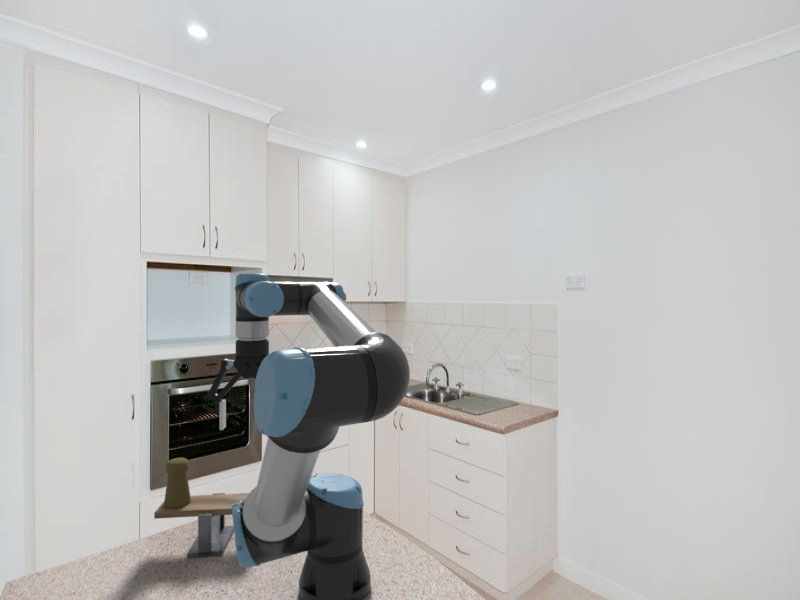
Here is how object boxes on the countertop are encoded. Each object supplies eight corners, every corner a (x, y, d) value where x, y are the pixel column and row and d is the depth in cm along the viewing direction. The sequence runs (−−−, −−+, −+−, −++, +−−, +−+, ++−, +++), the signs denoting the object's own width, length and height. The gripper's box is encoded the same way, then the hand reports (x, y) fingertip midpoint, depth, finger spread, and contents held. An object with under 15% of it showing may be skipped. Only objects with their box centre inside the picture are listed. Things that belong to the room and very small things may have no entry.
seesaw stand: (222, 556, 106) (222, 514, 106) (187, 558, 105) (187, 516, 105) (234, 530, 117) (234, 492, 117) (203, 531, 116) (202, 494, 116)
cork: (180, 510, 106) (180, 465, 106) (158, 508, 107) (157, 463, 107) (196, 498, 112) (196, 455, 112) (174, 496, 113) (174, 454, 113)
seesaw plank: (257, 517, 108) (257, 508, 108) (153, 522, 105) (153, 513, 105) (264, 499, 117) (264, 491, 117) (168, 504, 114) (168, 495, 114)
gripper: (307, 336, 111) (307, 421, 111) (202, 337, 108) (202, 424, 108) (304, 340, 103) (304, 430, 104) (191, 340, 100) (192, 434, 101)
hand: (252, 427), depth 106 cm, fingers open, 13 cm apart
